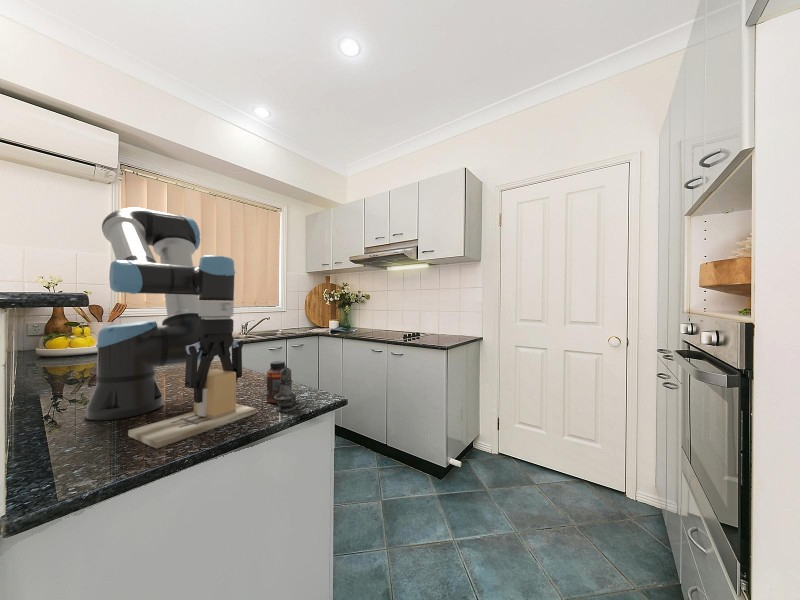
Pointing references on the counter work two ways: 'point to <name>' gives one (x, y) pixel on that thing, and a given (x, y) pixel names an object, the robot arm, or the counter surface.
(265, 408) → the counter surface
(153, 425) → the birch board
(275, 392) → the supplement bottle
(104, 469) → the counter surface
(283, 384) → the grey chess piece
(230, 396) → the block
